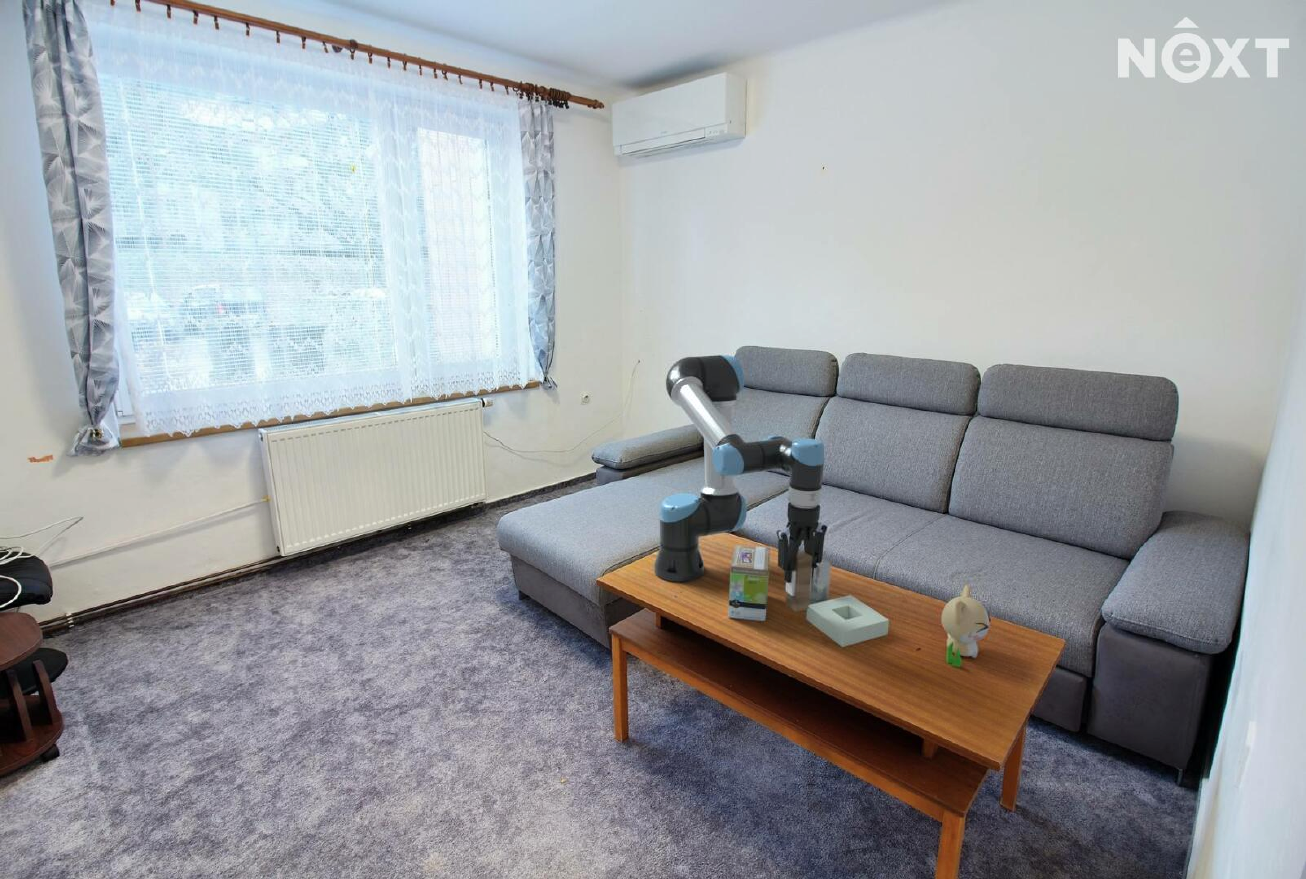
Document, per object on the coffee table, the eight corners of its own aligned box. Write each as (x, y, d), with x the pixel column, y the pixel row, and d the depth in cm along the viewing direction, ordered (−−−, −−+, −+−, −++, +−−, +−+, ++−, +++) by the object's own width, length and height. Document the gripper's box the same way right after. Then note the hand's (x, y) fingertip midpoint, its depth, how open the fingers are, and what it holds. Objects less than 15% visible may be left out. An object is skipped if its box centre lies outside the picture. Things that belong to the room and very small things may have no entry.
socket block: (806, 619, 160) (807, 605, 159) (849, 608, 165) (850, 594, 164) (842, 647, 147) (843, 632, 146) (887, 634, 152) (888, 619, 152)
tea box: (766, 622, 159) (768, 569, 155) (727, 618, 160) (728, 566, 157) (768, 594, 173) (770, 545, 169) (732, 591, 175) (733, 543, 171)
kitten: (978, 675, 136) (986, 614, 132) (930, 660, 142) (937, 601, 138) (990, 645, 148) (998, 588, 144) (945, 632, 153) (951, 576, 150)
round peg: (801, 600, 170) (804, 559, 167) (818, 596, 172) (821, 556, 169) (814, 609, 164) (817, 568, 162) (832, 605, 167) (835, 564, 164)
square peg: (785, 604, 155) (789, 553, 152) (798, 600, 157) (802, 550, 153) (795, 611, 152) (798, 559, 148) (808, 608, 153) (812, 556, 150)
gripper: (783, 513, 141) (777, 605, 147) (843, 503, 147) (835, 591, 153) (765, 502, 147) (760, 591, 153) (823, 493, 154) (816, 578, 160)
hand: (797, 591), depth 153 cm, fingers closed on square peg, 4 cm apart
